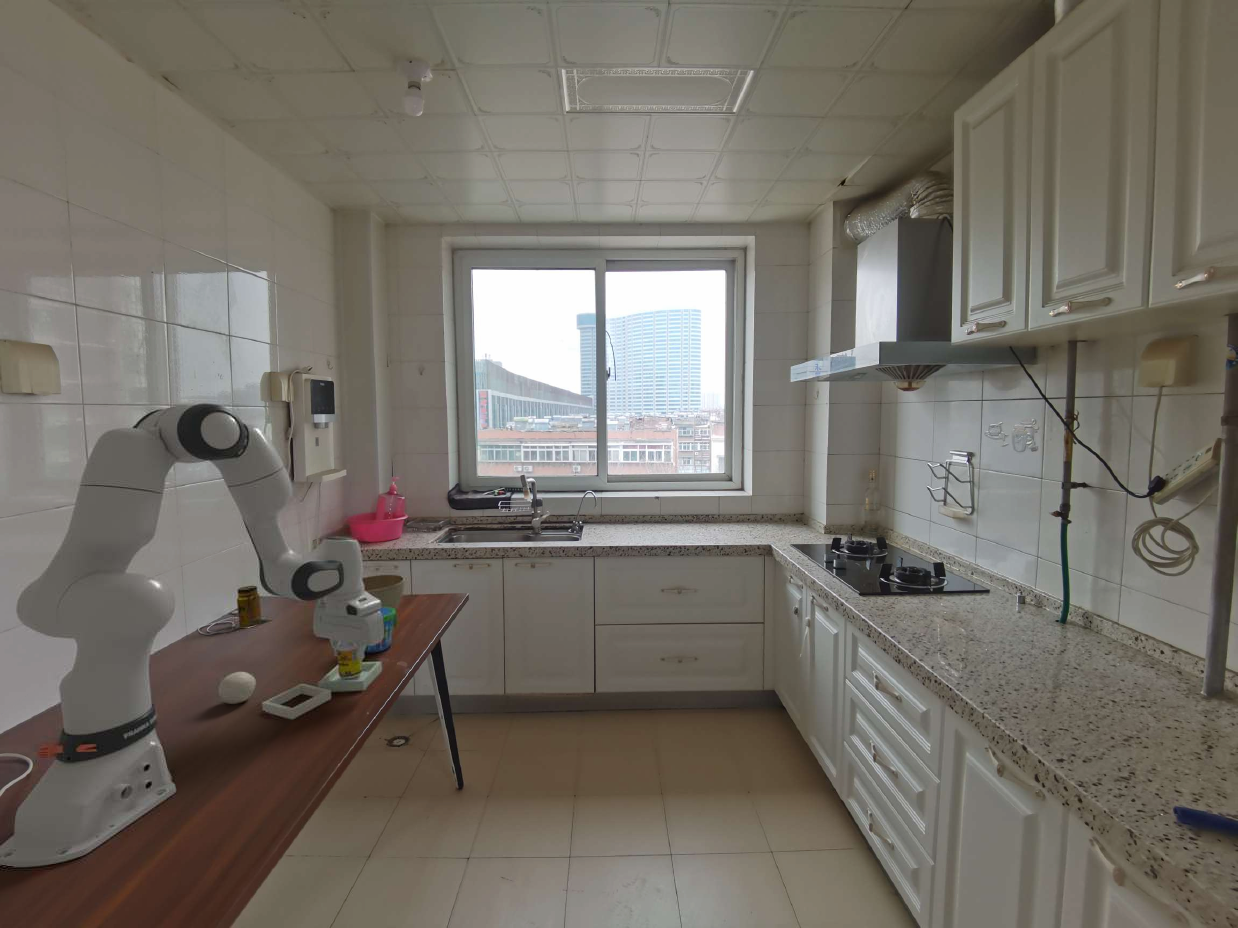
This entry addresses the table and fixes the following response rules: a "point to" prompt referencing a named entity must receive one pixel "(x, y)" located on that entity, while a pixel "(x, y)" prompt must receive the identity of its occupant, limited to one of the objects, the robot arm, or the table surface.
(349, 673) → the supplement bottle
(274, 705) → the holder
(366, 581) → the flower pot
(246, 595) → the condiment
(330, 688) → the tray
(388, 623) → the snack cup
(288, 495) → the robot arm
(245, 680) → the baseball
